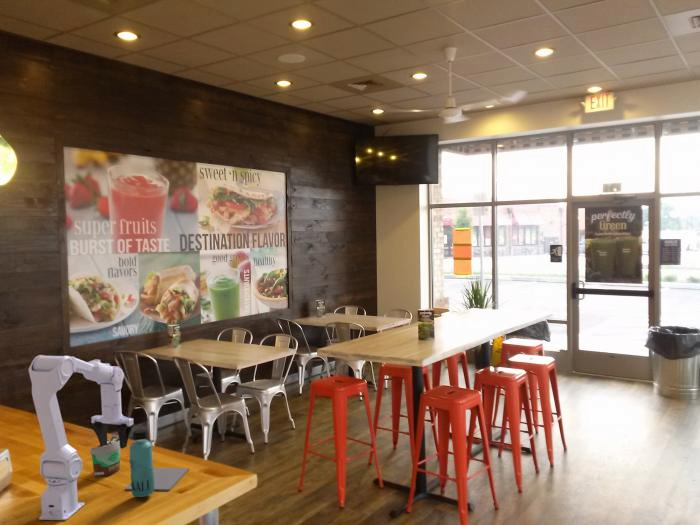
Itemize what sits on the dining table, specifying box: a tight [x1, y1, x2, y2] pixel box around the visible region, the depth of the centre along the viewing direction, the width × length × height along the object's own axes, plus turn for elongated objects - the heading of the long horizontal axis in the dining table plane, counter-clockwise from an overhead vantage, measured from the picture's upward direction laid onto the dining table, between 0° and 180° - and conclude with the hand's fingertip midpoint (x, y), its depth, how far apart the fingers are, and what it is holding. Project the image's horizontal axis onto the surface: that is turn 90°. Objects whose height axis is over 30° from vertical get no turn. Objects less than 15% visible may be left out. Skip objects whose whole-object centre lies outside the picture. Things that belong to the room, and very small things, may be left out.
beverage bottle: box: [129, 428, 155, 498], centre depth 172 cm, size 6×7×20 cm
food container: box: [89, 434, 121, 478], centre depth 192 cm, size 12×6×10 cm, turn 168°
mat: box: [124, 467, 190, 492], centre depth 185 cm, size 16×14×1 cm
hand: (113, 446), depth 187 cm, fingers open, 7 cm apart
